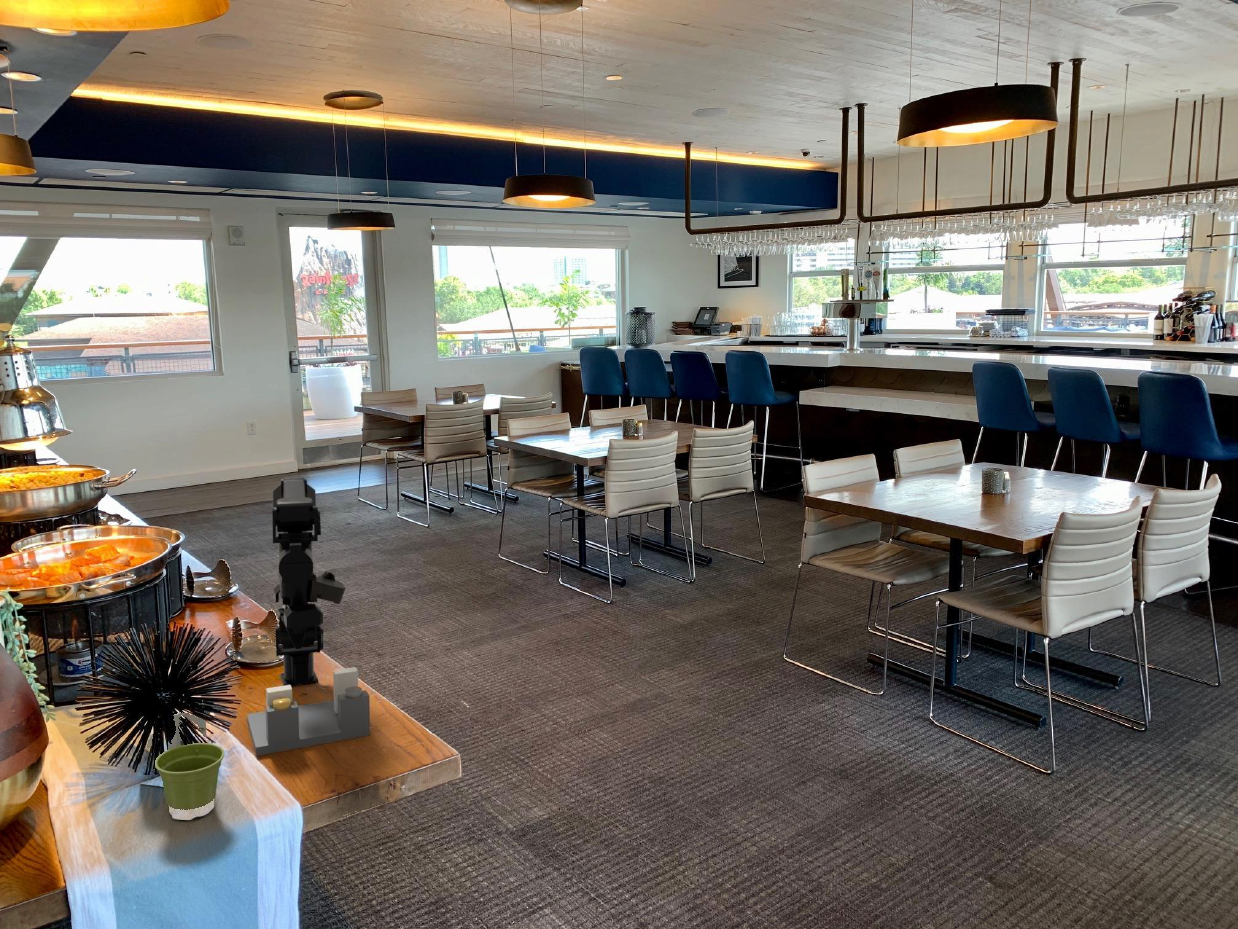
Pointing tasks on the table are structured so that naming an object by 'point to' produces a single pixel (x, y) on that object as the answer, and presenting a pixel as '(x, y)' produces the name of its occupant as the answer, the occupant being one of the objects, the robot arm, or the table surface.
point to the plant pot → (190, 774)
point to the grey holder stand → (309, 722)
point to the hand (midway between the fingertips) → (298, 648)
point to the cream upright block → (343, 682)
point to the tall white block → (278, 693)
